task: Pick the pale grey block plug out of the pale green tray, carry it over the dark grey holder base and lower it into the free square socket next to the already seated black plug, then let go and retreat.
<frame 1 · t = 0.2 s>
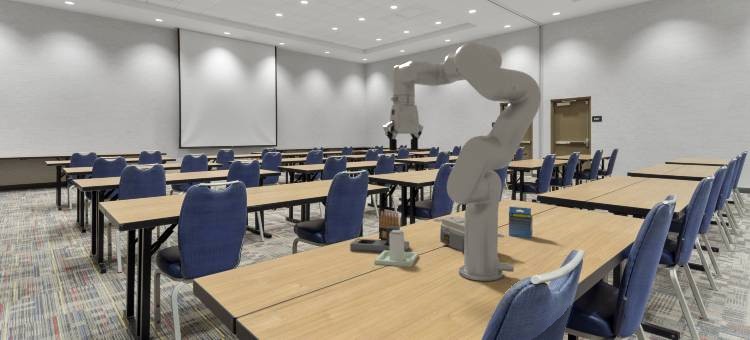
hand: (403, 150, 143), 36 cm above the table, tool pointing down, fingers open, 9 cm apart
tray: (397, 261, 135), on the table
ammunition clip: (389, 242, 161), on the table
grey plug: (396, 259, 134), point 1 cm above the table, touching tray
label tape box: (520, 236, 168), on the table
dark grey holder base: (379, 250, 148), on the table
electrical outlet: (466, 249, 150), on the table
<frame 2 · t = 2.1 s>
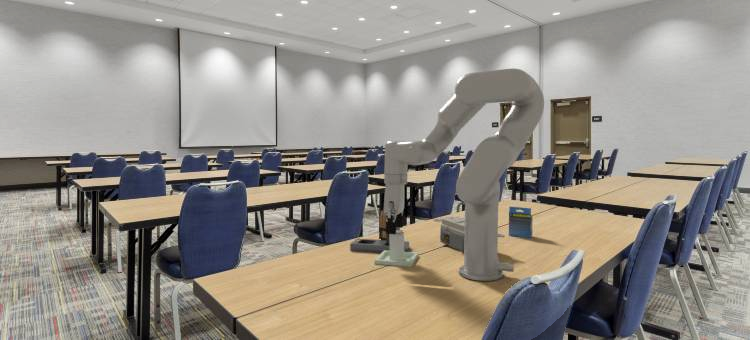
hand: (394, 230, 134), 10 cm above the table, tool pointing down, fingers open, 9 cm apart
nothing on the table moved.
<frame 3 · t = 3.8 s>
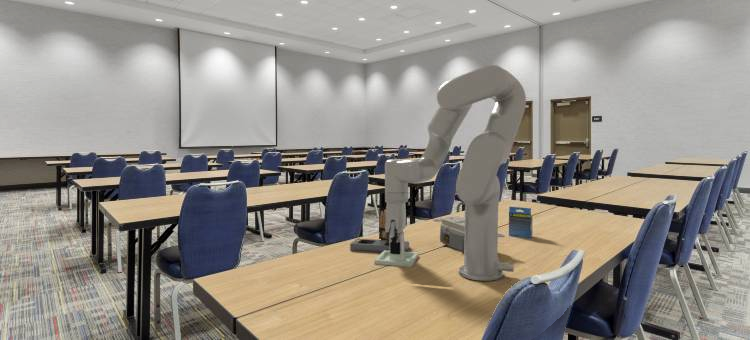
hand: (396, 251, 134), 3 cm above the table, tool pointing down, fingers closed on grey plug, 4 cm apart
grey plug: (397, 259, 134), point 1 cm above the table, touching gripper, tray
everything else where it was.
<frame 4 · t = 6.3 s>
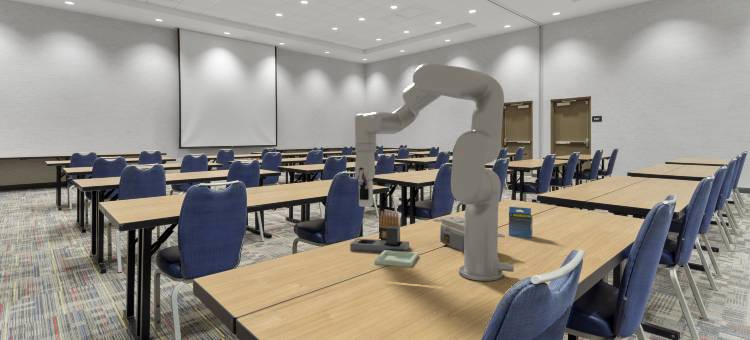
hand: (366, 198, 148), 19 cm above the table, tool pointing down, fingers closed on grey plug, 4 cm apart
grey plug: (366, 205, 148), point 16 cm above the table, touching gripper
everything else where it was.
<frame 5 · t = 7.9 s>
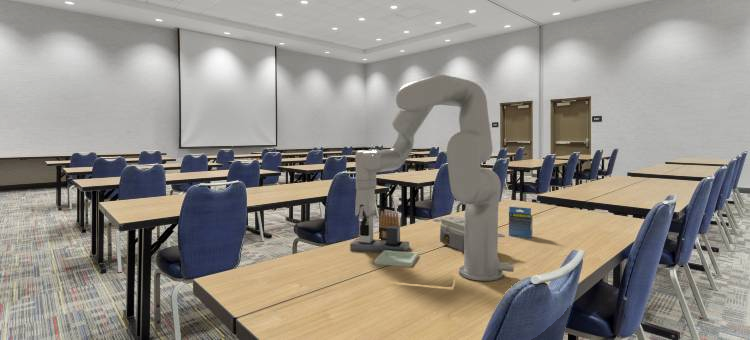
hand: (366, 233, 149), 6 cm above the table, tool pointing down, fingers closed on grey plug, 4 cm apart
grey plug: (366, 241, 149), point 3 cm above the table, touching gripper
everything else where it was.
when the fingers open (4 cm above the table, at t = 8.9 s): grey plug drops 1 cm, resting in dark grey holder base.
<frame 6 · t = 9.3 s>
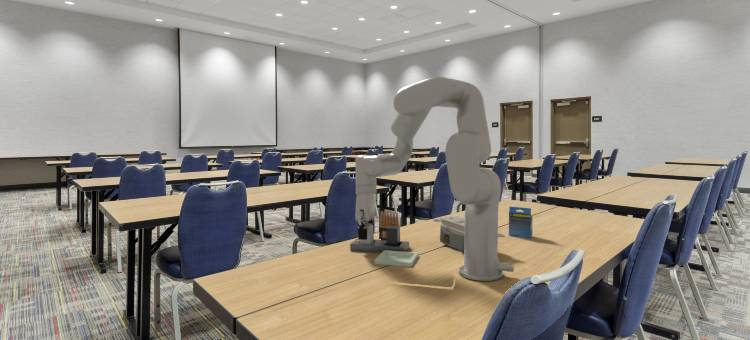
hand: (366, 236, 149), 5 cm above the table, tool pointing down, fingers open, 8 cm apart
grey plug: (366, 249, 149), resting in dark grey holder base
everything else where it was.
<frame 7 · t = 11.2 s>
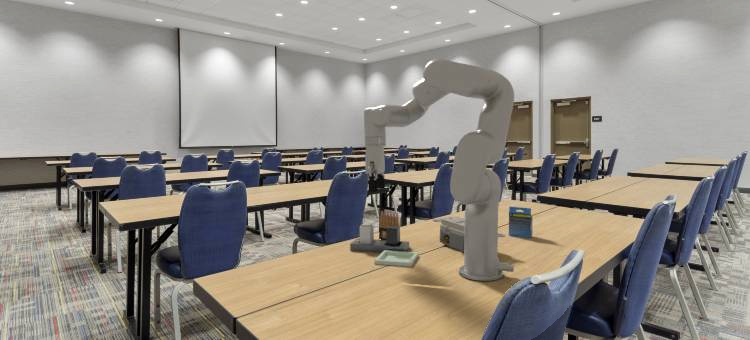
hand: (376, 190, 146), 22 cm above the table, tool pointing down, fingers open, 9 cm apart
nothing on the table moved.
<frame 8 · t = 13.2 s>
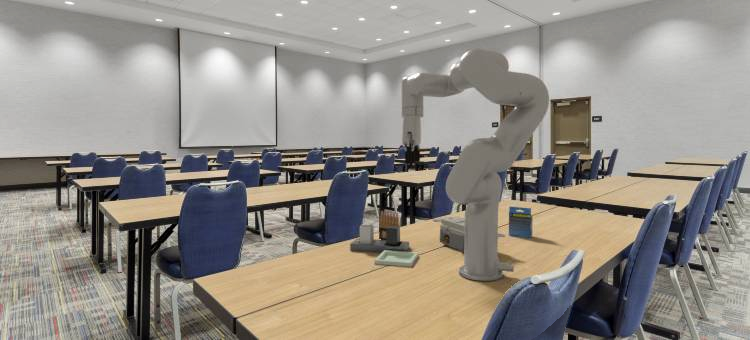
hand: (412, 162, 143), 32 cm above the table, tool pointing down, fingers open, 9 cm apart
nothing on the table moved.
at the end: grey plug 0.0 cm from the target spot on the dark grey holder base, point 0.0 cm above the dark grey holder base's base; grey plug tilted 0°; the gripper is holding nothing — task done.
